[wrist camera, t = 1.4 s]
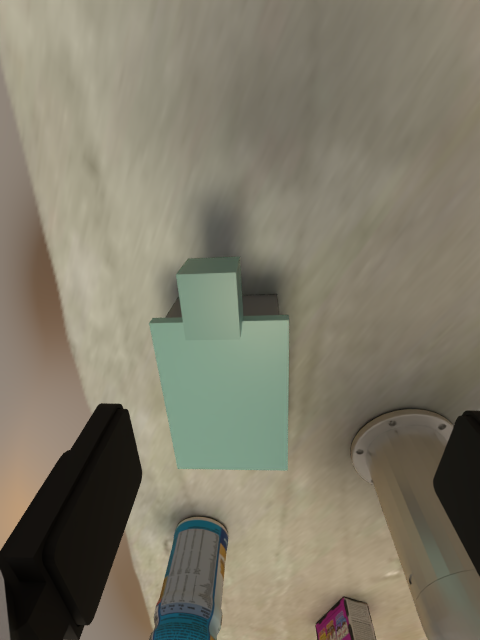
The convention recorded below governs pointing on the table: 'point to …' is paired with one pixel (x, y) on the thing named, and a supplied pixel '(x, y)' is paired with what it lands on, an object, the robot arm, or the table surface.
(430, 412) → the robot arm
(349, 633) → the candy bar box
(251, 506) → the table surface
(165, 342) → the lid
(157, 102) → the table surface
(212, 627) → the beverage bottle
